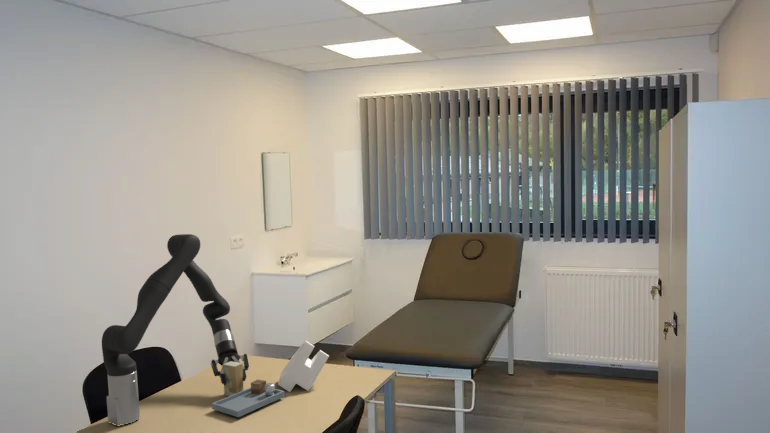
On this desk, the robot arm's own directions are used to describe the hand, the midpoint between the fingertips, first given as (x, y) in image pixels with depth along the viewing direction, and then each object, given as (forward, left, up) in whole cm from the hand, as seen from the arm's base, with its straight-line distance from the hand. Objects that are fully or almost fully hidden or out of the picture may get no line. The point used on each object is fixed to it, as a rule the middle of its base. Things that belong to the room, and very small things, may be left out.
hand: (234, 382), depth 226 cm
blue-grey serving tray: (-3, -12, -5) cm, 13 cm away
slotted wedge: (+23, -15, -6) cm, 27 cm away
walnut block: (+4, -9, -4) cm, 10 cm away
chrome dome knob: (+4, -15, -4) cm, 16 cm away
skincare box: (+1, +1, -6) cm, 6 cm away
